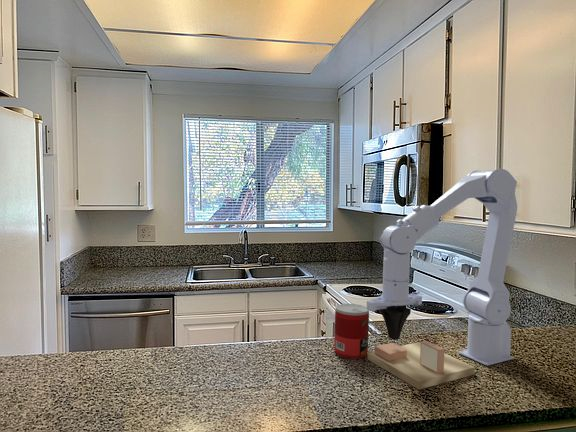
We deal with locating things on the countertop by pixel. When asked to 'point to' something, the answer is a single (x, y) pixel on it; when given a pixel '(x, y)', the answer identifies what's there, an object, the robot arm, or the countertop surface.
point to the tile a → (390, 351)
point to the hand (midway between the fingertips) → (393, 338)
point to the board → (422, 368)
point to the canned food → (351, 331)
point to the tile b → (432, 357)
